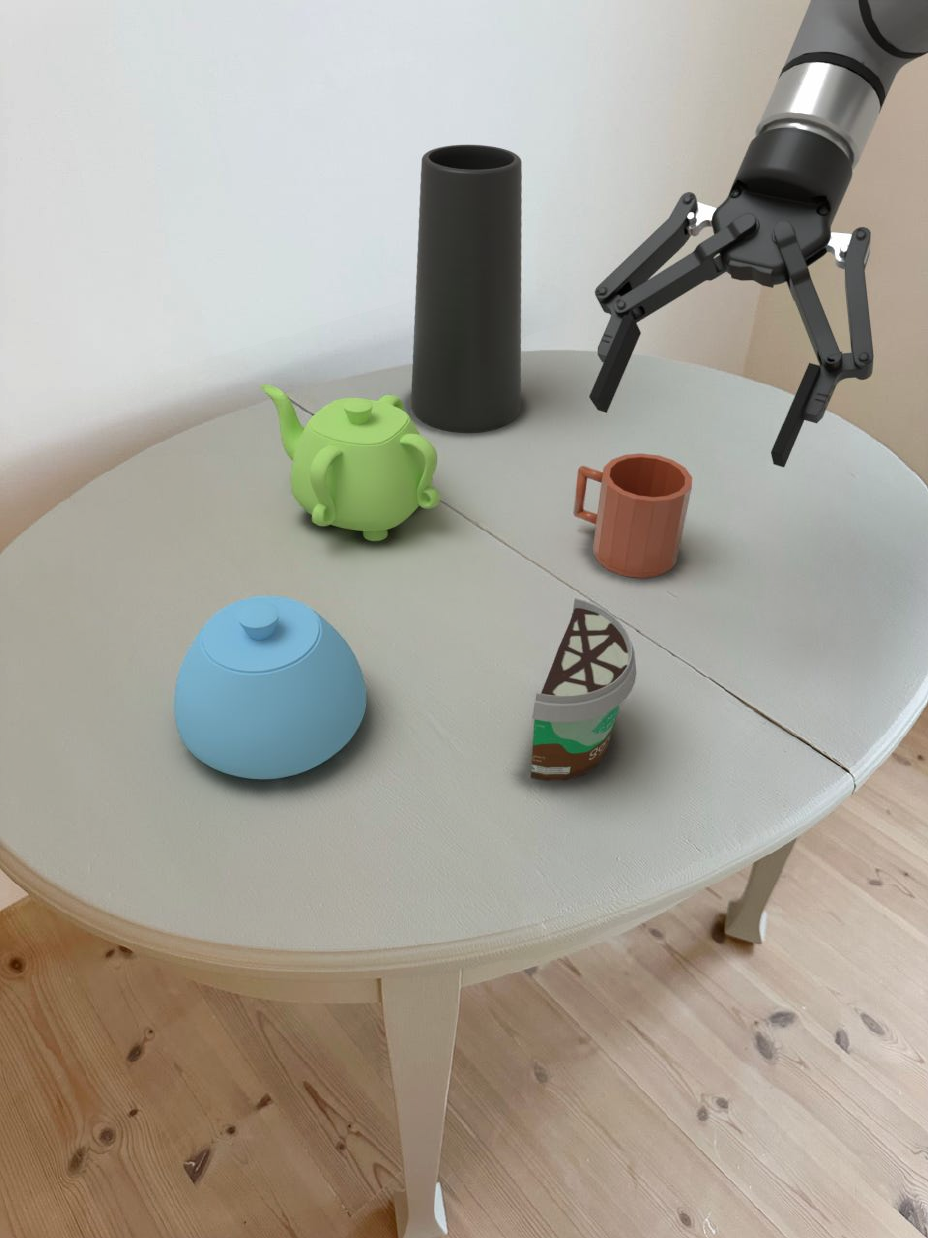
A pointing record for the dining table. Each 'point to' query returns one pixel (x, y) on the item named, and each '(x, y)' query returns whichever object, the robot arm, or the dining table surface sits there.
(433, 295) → the vase
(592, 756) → the food container
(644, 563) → the mug
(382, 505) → the teapot
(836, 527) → the dining table surface
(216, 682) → the sugar bowl
